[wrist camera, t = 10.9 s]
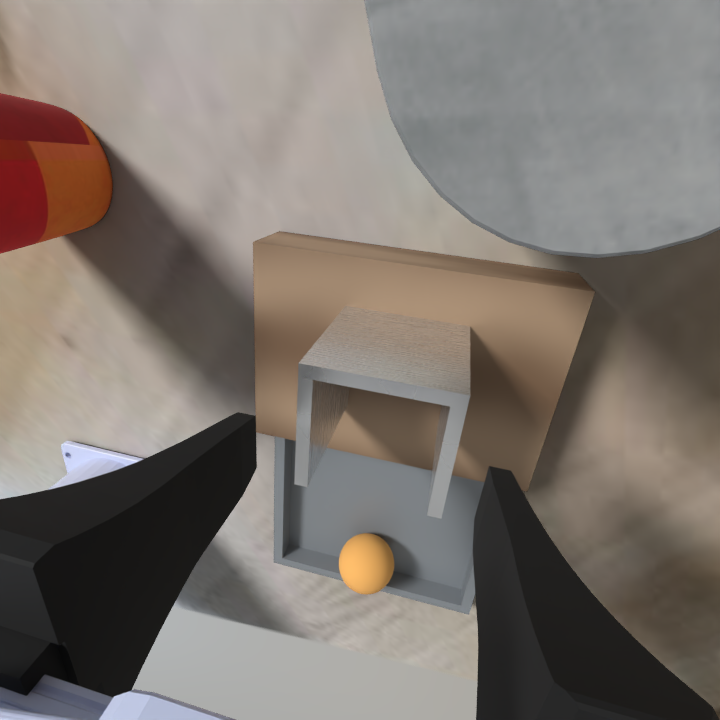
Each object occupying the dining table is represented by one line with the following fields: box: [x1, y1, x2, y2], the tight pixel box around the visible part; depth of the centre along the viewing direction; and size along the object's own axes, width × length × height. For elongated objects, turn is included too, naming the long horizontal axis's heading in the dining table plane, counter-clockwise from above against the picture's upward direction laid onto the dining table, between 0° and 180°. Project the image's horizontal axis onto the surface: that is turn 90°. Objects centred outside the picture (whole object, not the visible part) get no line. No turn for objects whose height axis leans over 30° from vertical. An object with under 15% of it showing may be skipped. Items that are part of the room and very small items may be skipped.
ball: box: [339, 533, 394, 594], centre depth 27 cm, size 3×3×3 cm
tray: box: [274, 436, 484, 615], centre depth 27 cm, size 11×13×2 cm
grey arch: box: [294, 306, 470, 519], centre depth 17 cm, size 5×5×6 cm
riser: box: [253, 231, 595, 492], centre depth 21 cm, size 10×14×3 cm
